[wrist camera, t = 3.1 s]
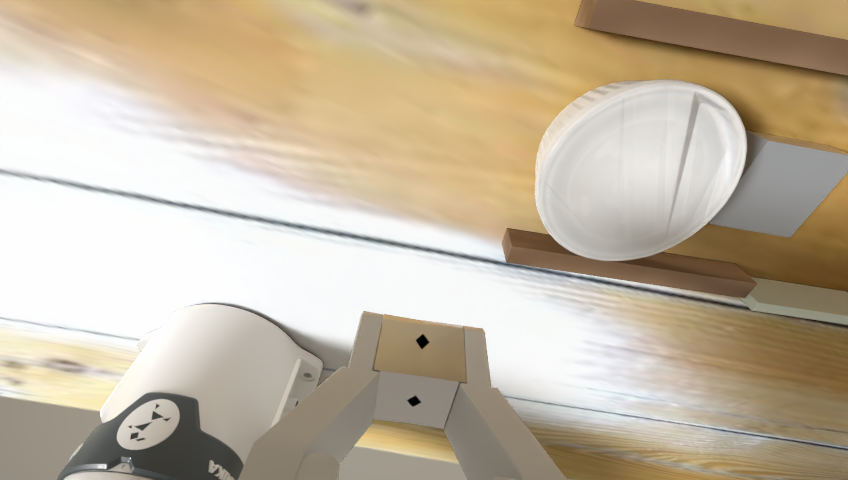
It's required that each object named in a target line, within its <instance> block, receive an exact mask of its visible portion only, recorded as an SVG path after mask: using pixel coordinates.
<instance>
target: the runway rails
mask: <svg viewBox="0 0 848 480" xmlns="http://www.w3.org/2000/svg"><path fill="white" fill-rule="evenodd" d="M574 25H575V26H579V27H584V28H589V29H594V30H600V31H605V32H611V33H616V34H622V35H628V36H633V37H639V38H644V39H650V40H655V41H661V42H666V43H672V44H677V45H683V46H688V47H694V48H699V49H705V50H710V51H716V52H721V53H727V54H732V55H738V56H743V57H749V58H754V59H760V60H765V61H771V62H776V63H782V64H787V65H793V66H798V67H804V68H809V69H815V70H820V71H826V72H831V73H837V74H842V75H848V40H845V39H839V38H834V37H829V36H823V35H818V34H812V33H807V32H802V31H796V30H791V29H786V28H780V27H775V26H769V25H764V24H759V23H753V22H748V21H743V20H737V19H732V18H727V17H721V16H716V15H710V14H705V13H700V12H694V11H689V10H684V9H678V8H673V7H667V6H662V5H657V4H651V3H646V2H641V1H635V0H582V2H581V5H580V8H579V11H578V14H577V17H576V20H575V23H574ZM502 246H503V250H504V254H505V259H506V262H507V263H514V264H521V265H527V266H534V267H541V268H547V269H554V270H560V271H567V272H574V273H580V274H587V275H594V276H600V277H607V278H613V279H620V280H627V281H633V282H640V283H646V284H653V285H660V286H666V287H673V288H680V289H686V290H693V291H699V292H706V293H713V294H719V295H726V296H733V297H739V298H746V297H747V296H748V294H749V293H750V292H751V291H752V290H753V289H754V288H755V286H756V285H757V283H756V282H755V281H754V280H753V279H752V278H751V277H750V276H749V275H747V274H746V273H745V272H744V271H743V270H742V269H741V268H740V267H739V266H738V265H737V264H734V263H727V262H721V261H715V260H708V259H702V258H695V257H689V256H682V255H676V254H669V253H663V252H660V253H657V254H654V255H651V256H648V257H643V258H639V259H633V260H626V261H601V260H595V259H590V258H586V257H583V256H580V255H577V254H575V253H573V252H571V251H569V250H567V249H566V248H564V247H563V246H562V245H560V244H559V243H558V242H557V241H555V240H554V238H553V237H552V236H551V235H547V234H541V233H534V232H528V231H521V230H515V229H508V228H507V230H506V233H505V236H504V239H503V242H502Z"/></svg>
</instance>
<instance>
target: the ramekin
mask: <svg viewBox="0 0 848 480" xmlns="http://www.w3.org/2000/svg"><path fill="white" fill-rule="evenodd" d="M746 154H747V136H746V131H745V127H744V125H743V122H742V120H741V118H740V116H739V114H738V112H737V111H736V109H735V108H734V107H733V106H732V105H731V104H730V102H728V101H727V100H726V99H725V98H724V97H722V96H721V95H719V94H718V93H716V92H714V91H712V90H710V89H708V88H706V87H703V86H701V85H698V84H695V83H691V82H686V81H681V80H671V79H660V80H650V81H622V82H618V83H611V84H608V85H605V86H600V87H598V88H596V89H594V90H590V91H588V92H587V93H585V94H584V95H582V96H580V97H578V98H577V99H576V100H575V101H573V102H572V103H570V104H569V105H568V106H567V107H566V108H565V109H564V110H562V111H561V112H560V113H559V114H558V116H557V117H556V118H555V119H554V120H553V121H552V123H551V124H550V126H549V127H548V128H547V131H546V133H545V134H544V136H543V137H542V141H541V143H540V145H539V150H538V153H537V156H536V171H535V174H536V182H535V201H536V206H537V210H538V213H539V215H540V218H541V220H542V222H543V224H544V226H545V228H546V229H547V231H548V232H549V234H550V235H551V236H552V237H553V238H554V240H555V241H557V242H558V243H559V244H560V245H562V246H563V247H564V248H566V249H567V250H569V251H571V252H573V253H575V254H577V255H580V256H583V257H586V258H590V259H595V260H601V261H626V260H633V259H639V258H643V257H648V256H651V255H654V254H657V253H660V252H662V251H665V250H667V249H669V248H671V247H673V246H675V245H677V244H679V243H681V242H682V241H684V240H686V239H687V238H689V237H690V236H692V235H693V234H695V233H696V232H697V231H699V230H700V229H701V228H703V227H704V226H705V225H706V224H707V223H708V222H709V221H710V220H711V219H712V218H713V217H714V216H715V215H716V214H717V213H718V212H719V211H720V210H721V208H722V207H723V206H724V205H725V204H726V202H727V201H728V199H729V198H730V196H731V195H732V193H733V192H734V190H735V188H736V186H737V184H738V182H739V180H740V177H741V175H742V173H743V169H744V166H745V162H746Z"/></svg>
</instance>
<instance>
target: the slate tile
mask: <svg viewBox="0 0 848 480" xmlns="http://www.w3.org/2000/svg"><path fill="white" fill-rule="evenodd" d="M745 131H746V136H747V154H746V162H745V166H744V169H743V173H742V175H741V177H740V180H739V182H738V184H737V186H736V188H735V190H734V192H733V193H732V195H731V196H730V198H729V199H728V201H727V202H726V204H725V205H724V206H723V207H722V208H721V210H720V211H719V212H718V213H717V214H716V215H715V216H714V217H713V218H712V219H711V220H710V221H709V222H708V223H709V224H713V225H719V226H725V227H730V228H736V229H742V230H748V231H754V232H759V233H765V234H771V235H777V236H782V237H788V238H790V237H791V236H792V235H793V234H794V233H795V231H796V230H797V229H798V228H799V227H800V226H801V225H802V223H803V222H804V221H805V220H806V219H807V218H808V217H809V216H810V214H811V213H812V212H813V211H814V210H815V209H816V208H817V206H818V205H819V204H820V203H821V202H822V201H823V200H824V198H825V197H826V196H827V195H828V194H829V193H830V192H831V190H832V189H833V188H834V187H835V186H836V185H837V184H838V182H839V181H840V180H841V179H842V178H843V177H844V176H845V175H846V173H847V172H848V153H847V152H845V151H842V150H839V149H837V148H834V147H832V146H829V145H824V144H818V143H813V142H808V141H802V140H797V139H791V138H786V137H781V136H775V135H770V134H765V133H759V132H754V131H748V130H745Z"/></svg>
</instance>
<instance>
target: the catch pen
mask: <svg viewBox="0 0 848 480" xmlns="http://www.w3.org/2000/svg"><path fill="white" fill-rule="evenodd" d="M751 278H752V279H753V280H754V281H755V282H756V283H757V285H756V286H755V288H754V289H753V290H752V291H751V292H750V293H749V294H748V296H747V297H746V298H740V299H741V300H742V301H743V302H744V303H745V304H746V305H747V306H748V307H749V308H750V309H751V310H753V311H760V312H766V313H773V314H780V315H786V316H793V317H800V318H806V319H813V320H820V321H826V322H833V323H840V324H846V325H848V292H847V291H840V290H834V289H827V288H821V287H814V286H808V285H801V284H795V283H788V282H782V281H775V280H769V279H762V278H756V277H751Z"/></svg>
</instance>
